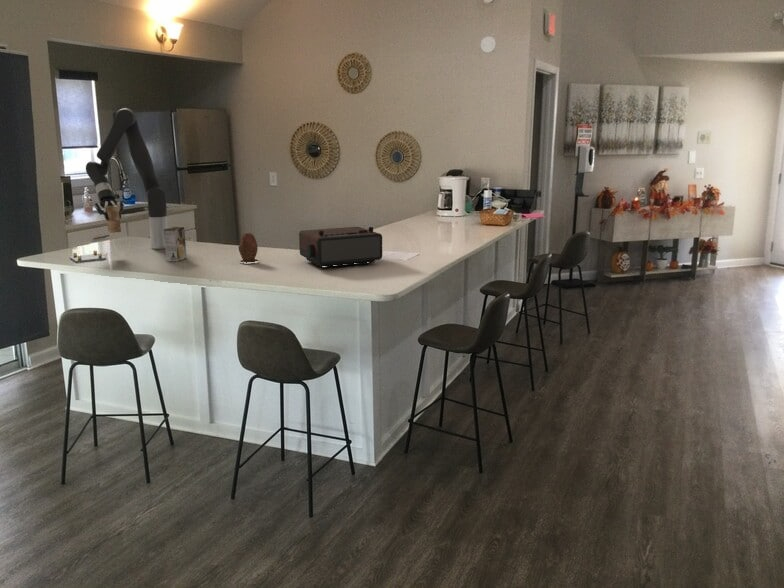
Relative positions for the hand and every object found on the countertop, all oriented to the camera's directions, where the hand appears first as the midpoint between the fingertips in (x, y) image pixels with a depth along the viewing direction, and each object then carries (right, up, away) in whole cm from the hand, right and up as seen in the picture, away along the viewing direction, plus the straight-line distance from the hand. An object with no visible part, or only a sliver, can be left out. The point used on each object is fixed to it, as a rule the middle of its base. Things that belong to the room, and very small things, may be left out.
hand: (114, 219), depth 344 cm
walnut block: (-1, -6, +3) cm, 7 cm away
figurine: (+71, -23, -12) cm, 75 cm away
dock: (-12, -20, -2) cm, 24 cm away
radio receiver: (+115, -24, -14) cm, 118 cm away
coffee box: (+33, -21, -5) cm, 40 cm away
